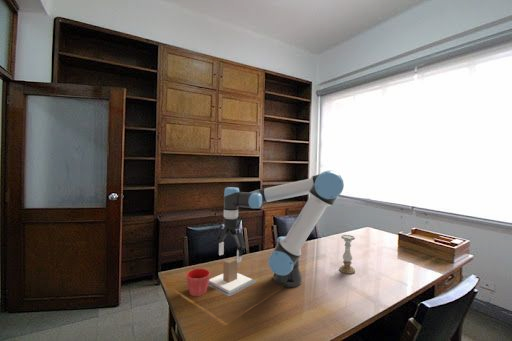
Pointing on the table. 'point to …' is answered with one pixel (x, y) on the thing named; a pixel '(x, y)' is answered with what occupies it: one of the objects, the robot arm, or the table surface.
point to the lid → (230, 277)
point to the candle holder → (347, 255)
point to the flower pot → (198, 281)
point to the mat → (233, 291)
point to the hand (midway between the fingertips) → (229, 258)
